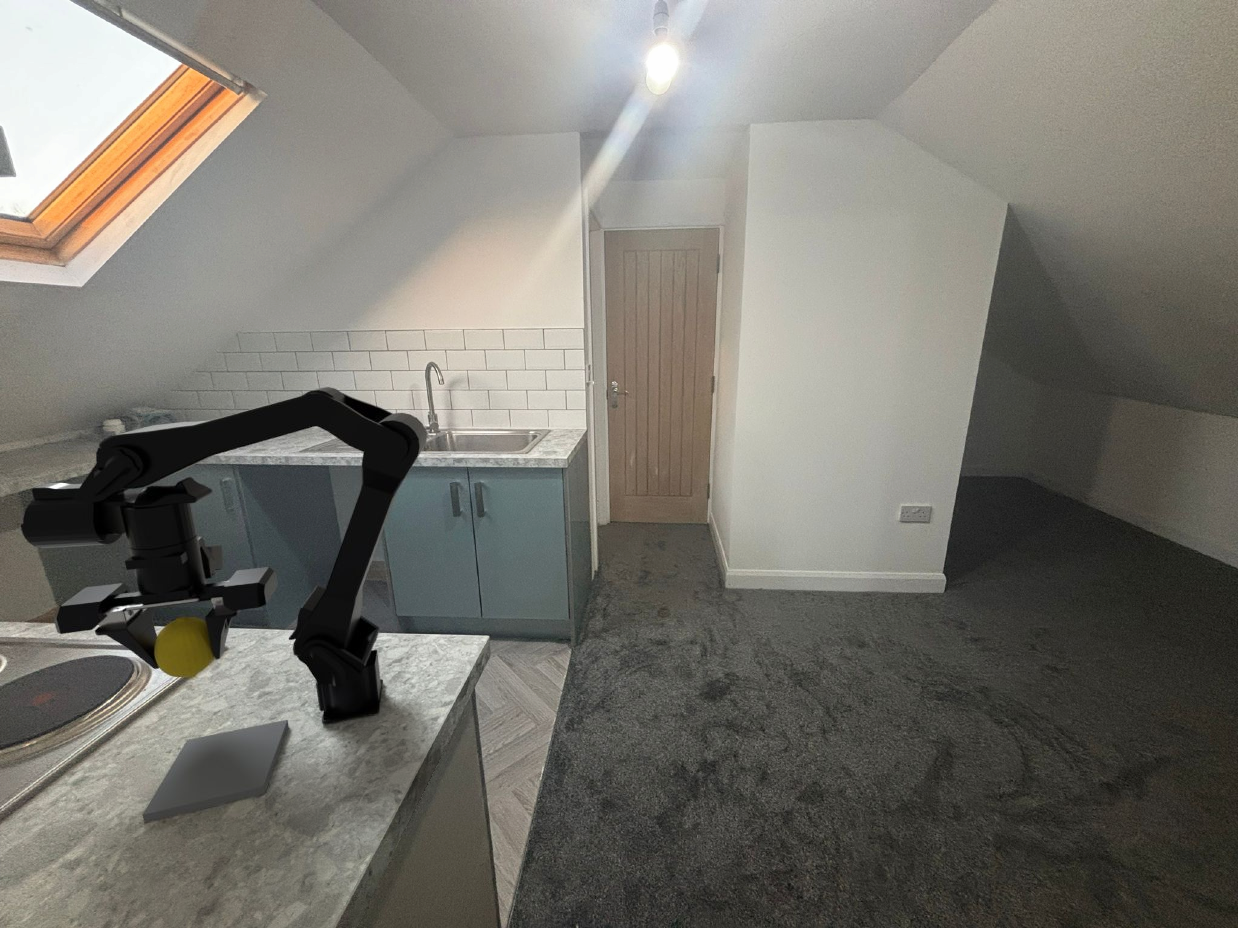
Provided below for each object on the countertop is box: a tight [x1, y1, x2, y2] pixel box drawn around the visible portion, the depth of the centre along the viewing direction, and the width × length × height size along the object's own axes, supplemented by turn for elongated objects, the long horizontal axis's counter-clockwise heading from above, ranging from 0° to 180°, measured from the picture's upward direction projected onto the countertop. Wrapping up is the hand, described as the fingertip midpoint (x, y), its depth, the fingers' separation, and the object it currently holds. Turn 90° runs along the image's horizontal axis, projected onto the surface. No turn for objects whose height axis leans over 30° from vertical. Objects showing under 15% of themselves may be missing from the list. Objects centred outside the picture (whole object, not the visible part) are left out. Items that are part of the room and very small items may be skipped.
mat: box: [142, 719, 289, 824], centre depth 55 cm, size 10×10×1 cm
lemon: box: [154, 616, 215, 679], centre depth 60 cm, size 6×6×8 cm
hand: (189, 661), depth 60 cm, fingers closed on lemon, 5 cm apart
